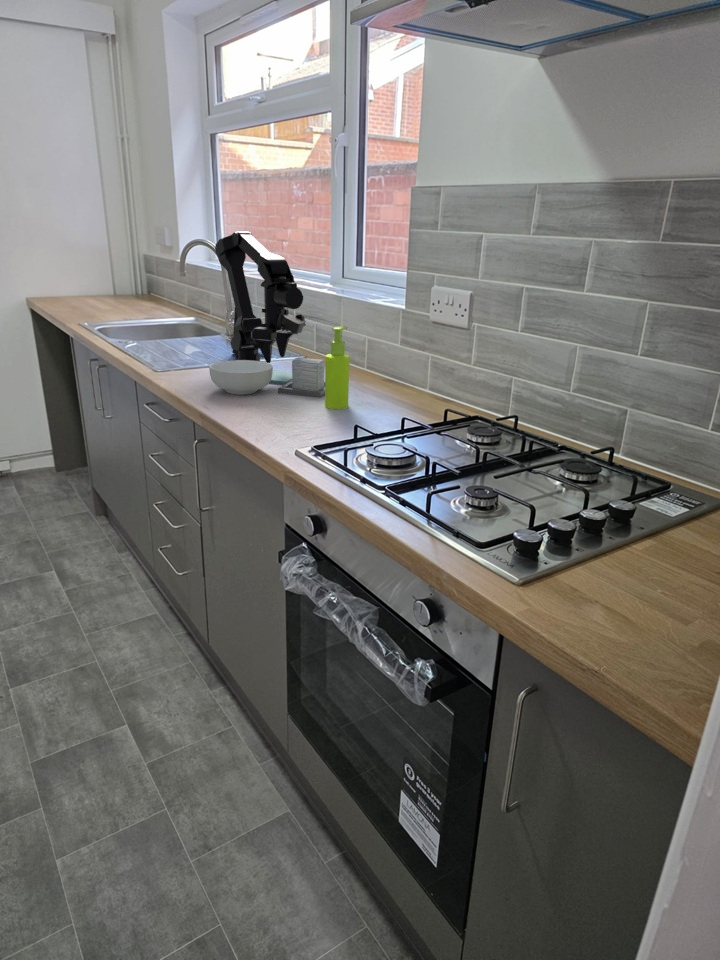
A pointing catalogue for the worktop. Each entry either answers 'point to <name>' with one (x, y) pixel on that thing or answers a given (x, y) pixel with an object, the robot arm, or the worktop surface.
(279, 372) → the board
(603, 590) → the worktop surface
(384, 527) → the worktop surface
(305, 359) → the medicine box
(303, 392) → the hollow square frame
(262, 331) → the robot arm
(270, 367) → the cereal bowl
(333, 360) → the soap dispenser
